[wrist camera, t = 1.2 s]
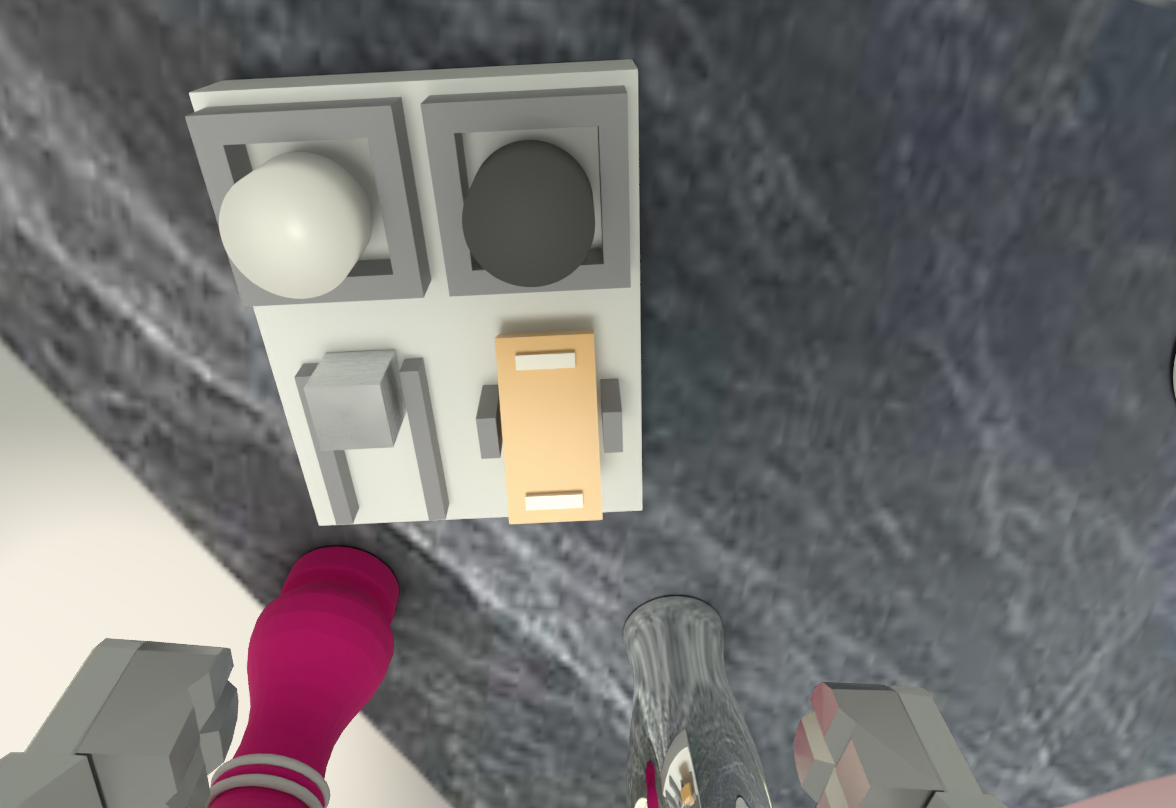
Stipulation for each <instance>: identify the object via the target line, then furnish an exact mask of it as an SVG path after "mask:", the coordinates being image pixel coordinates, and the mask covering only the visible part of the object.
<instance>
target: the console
mask: <svg viewBox="0 0 1176 808" xmlns="http://www.w3.org/2000/svg"><path fill="white" fill-rule="evenodd" d="M189 95H190V98H191V102H192V105H193V108H194V113H191V114H189V115H186V116H185V118H186V122H187V125H188V128H189V131H190V135H191V138H192V141H193V144H194V148H195V151H196V154H197V157H198V161H199V164H200V167H201V170H202V174H203V177H204V180H205V183H206V187H207V190H208V193H209V196H210V199H211V203H212V206H213V209H214V212H215V216H216V219H217V222H218V225H219V214H220V209H221V205H222V202H223V200H224V198H225V196H226V194H227V192H228V191H229V190H230V189H231V187H232V186H233V185H234V184H235V183H236V182H238V181H239V180H240V179H242V178H243V177H245V176H246V175H248V174H249V173H251V172H252V171H254V170H255V169H257V168H258V167H259V166H261V165H262V164H264V163H265V162H267V161H268V160H270V159H272V158H273V157H276V156H278V155H281V154H284V153H289V152H308V153H314V154H317V155H321V156H323V157H326V158H328V159H330V160H332V161H334V162H336V163H337V164H339V165H340V166H342V167H343V168H344V169H345V170H347V171H348V172H349V173H350V174H351V175H352V176H353V177H354V178H355V179H356V181H357V182H358V183H359V185H360V186H361V188H362V189H363V191H364V193H365V195H366V197H367V199H368V202H369V204H370V208H371V212H372V234H371V237H370V241H369V243H368V245H367V248H366V249H365V251H364V252H363V254H362V255H361V256H360V258H359V259H358V261H357V262H356V264H355V265H354V266H353V268H352V269H351V271H350V272H349V274H348V275H347V276H346V278H345V279H344V280H343V281H342V283H341V284H340V285H338V286H337V287H336V288H335V289H333V290H332V291H330V292H328V293H326V294H323V295H321V296H317V297H313V298H306V299H295V298H287V297H283V296H279V295H276V294H273V293H270V292H268V291H266V290H264V289H262V288H261V287H259V286H257V285H256V284H254V283H253V282H252V281H250V280H249V279H248V278H247V277H246V276H244V275H243V274H242V273H241V272H240V271H239V269H238V268H237V267H236V266H235V265H234V263H233V262H232V260H231V259H230V257H229V255H228V254H227V255H228V258H229V261H230V264H231V268H232V271H233V274H234V277H235V281H236V284H237V287H238V290H239V294H240V297H241V300H242V303H243V307H250V306H253V308H254V311H255V314H256V318H257V321H258V324H259V328H260V331H261V334H262V338H263V341H264V344H265V348H266V351H267V354H268V358H269V361H270V364H271V368H272V371H273V374H274V378H275V381H276V384H277V388H278V391H279V394H280V397H281V401H282V404H283V407H284V411H285V414H286V417H287V421H288V424H289V427H290V431H291V434H292V437H293V441H294V444H295V447H296V451H297V454H298V457H299V461H300V464H301V467H302V471H303V474H304V477H305V481H306V484H307V487H308V491H309V494H310V497H311V500H312V504H313V507H314V510H315V514H316V517H317V520H318V524H319V526H324V525H345V524H366V523H387V522H408V521H429V520H450V519H471V518H492V517H509V515H508V502H507V489H506V477H505V464H504V451H503V438H502V425H501V412H500V400H499V387H498V374H497V361H496V348H495V338H496V336H497V335H498V334H517V333H537V332H557V331H578V330H594V348H595V369H596V390H597V411H598V432H599V453H600V475H601V496H602V512H617V511H638V510H642V428H641V326H640V225H639V124H638V69H637V67H636V65H635V63H634V62H633V60H632V59H627V60H608V61H588V62H569V63H550V64H531V65H511V66H492V67H473V68H454V69H435V70H415V71H396V72H377V73H358V74H339V75H319V76H300V77H281V78H262V79H242V80H223V81H220V82H217V83H214V84H212V85H209V86H206V87H203V88H200V89H198V90H195V91H192V92H189ZM522 140H538V141H544V142H548V143H551V144H554V145H556V146H558V147H560V148H562V149H563V150H565V151H567V152H568V153H569V154H570V155H571V156H573V157H574V158H575V159H576V160H577V161H578V163H579V164H580V165H581V167H582V168H583V169H584V171H585V173H586V175H587V177H588V179H589V182H590V184H591V188H592V192H593V202H594V213H595V233H594V239H593V242H592V246H591V248H590V250H589V253H588V255H587V256H586V258H585V259H584V261H583V262H582V263H581V265H580V266H579V267H578V268H577V269H576V270H575V271H574V272H573V273H571V274H570V275H569V276H567V277H566V278H564V279H562V280H560V281H558V282H556V283H553V284H550V285H546V286H541V287H521V286H516V285H512V284H508V283H506V282H503V281H501V280H499V279H497V278H496V277H494V276H492V275H491V274H490V273H488V272H487V271H486V270H485V269H484V268H483V267H481V266H480V264H479V263H478V262H477V261H476V260H475V258H474V257H473V255H472V254H471V252H470V250H469V248H468V246H467V244H466V241H465V238H464V233H463V229H462V211H463V206H464V202H465V199H466V196H467V194H468V191H469V189H470V187H471V184H472V182H473V180H474V178H475V175H476V173H477V171H478V169H479V168H480V166H481V165H482V163H483V162H484V161H485V160H486V159H487V158H488V157H489V155H491V154H492V153H493V152H494V151H496V150H497V149H499V148H501V147H502V146H505V145H507V144H509V143H512V142H516V141H522ZM379 350H395V352H396V357H397V362H398V367H399V374H400V379H401V384H402V389H403V394H404V399H405V404H406V409H407V411H406V414H405V417H404V419H403V422H402V425H401V428H400V431H399V433H398V436H397V439H396V442H395V444H394V447H392V448H371V449H351V450H330V451H321V449H320V445H319V442H318V438H317V435H316V431H315V427H314V424H313V420H312V417H311V413H310V410H309V406H308V402H307V399H306V395H305V392H304V386H305V385H306V383H307V382H308V380H309V378H310V377H311V375H312V374H313V372H314V370H315V369H316V367H317V365H318V364H319V362H320V361H321V359H322V357H323V356H324V354H325V353H339V352H359V351H379Z"/></svg>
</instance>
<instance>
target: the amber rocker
mask: <svg viewBox="0 0 1176 808" xmlns="http://www.w3.org/2000/svg"><path fill="white" fill-rule="evenodd" d="M495 348H496V361H497V374H498V387H499V400H500V412H501V425H502V438H503V451H504V464H505V477H506V489H507V502H508V515H509V524H523V523H544V522H565V521H587V520H603V517H602V496H601V475H600V453H599V432H598V411H597V390H596V369H595V348H594V330H578V331H557V332H537V333H517V334H498V335H497V336H496V338H495Z"/></svg>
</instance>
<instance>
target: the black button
mask: <svg viewBox="0 0 1176 808" xmlns="http://www.w3.org/2000/svg"><path fill="white" fill-rule="evenodd" d="M462 229H463V233H464V238H465V241H466V244H467V246H468V248H469V250H470V252H471V254H472V255H473V257H474V258H475V260H476V261H477V262H478V263H479V264H480V266H481V267H483V268H484V269H485V270H486V271H487V272H488V273H490V274H491V275H492V276H494V277H496V278H497V279H499V280H501V281H503V282H506V283H508V284H512V285H516V286H521V287H541V286H546V285H550V284H553V283H556V282H558V281H560V280H562V279H564V278H566V277H567V276H569V275H570V274H571V273H573V272H574V271H575V270H576V269H577V268H578V267H579V266H580V265H581V263H582V262H583V261H584V259H585V258H586V256H587V255H588V253H589V250H590V248H591V246H592V242H593V239H594V233H595V213H594V202H593V192H592V188H591V184H590V182H589V179H588V177H587V175H586V173H585V171H584V169H583V168H582V167H581V165H580V164H579V163H578V161H577V160H576V159H575V158H574V157H573V156H571V155H570V154H569V153H568V152H567V151H565V150H563V149H562V148H560V147H558V146H556V145H554V144H551V143H548V142H544V141H538V140H522V141H516V142H512V143H509V144H507V145H505V146H502V147H501V148H499V149H497V150H496V151H494V152H493V153H492V154H491V155H489V157H488V158H487V159H486V160H485V161H484V162H483V163H482V165H481V166H480V168H479V169H478V171H477V173H476V175H475V178H474V180H473V182H472V184H471V187H470V189H469V191H468V194H467V196H466V199H465V202H464V206H463V211H462Z"/></svg>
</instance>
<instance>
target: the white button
mask: <svg viewBox="0 0 1176 808" xmlns="http://www.w3.org/2000/svg"><path fill="white" fill-rule="evenodd" d="M219 229H220V235H221V239H222V242H223V245H224V247H225V250H226V252H227V254H228V255H229V257H230V259H231V260H232V262H233V263H234V265H235V266H236V267H237V268H238V269H239V271H240V272H241V273H242V274H243V275H244V276H246V277H247V278H248V279H249V280H250V281H252V282H253V283H254V284H256V285H257V286H259V287H261V288H262V289H264V290H266V291H268V292H270V293H273V294H276V295H279V296H283V297H287V298H295V299H306V298H313V297H317V296H321V295H323V294H326V293H328V292H330V291H332V290H333V289H335V288H336V287H337V286H338V285H340V284H341V283H342V281H343V280H344V279H345V278H346V276H347V275H348V274H349V272H350V271H351V269H352V268H353V266H354V265H355V264H356V262H357V261H358V259H359V258H360V256H361V255H362V254H363V252H364V251H365V249H366V248H367V245H368V243H369V241H370V237H371V234H372V212H371V208H370V204H369V202H368V199H367V197H366V195H365V193H364V191H363V189H362V188H361V186H360V185H359V183H358V182H357V181H356V179H355V178H354V177H353V176H352V175H351V174H350V173H349V172H348V171H347V170H345V169H344V168H343V167H342V166H340V165H339V164H337V163H336V162H334V161H332V160H330V159H328V158H326V157H323V156H321V155H317V154H314V153H308V152H289V153H284V154H281V155H278V156H276V157H273V158H272V159H270V160H268V161H267V162H265V163H264V164H262V165H261V166H259V167H258V168H257V169H255V170H254V171H252V172H251V173H249V174H248V175H246V176H245V177H243V178H242V179H240V180H239V181H238V182H236V183H235V184H234V185H233V186H232V187H231V189H230V190H229V191H228V192H227V194H226V196H225V198H224V200H223V202H222V205H221V209H220V214H219Z"/></svg>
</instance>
